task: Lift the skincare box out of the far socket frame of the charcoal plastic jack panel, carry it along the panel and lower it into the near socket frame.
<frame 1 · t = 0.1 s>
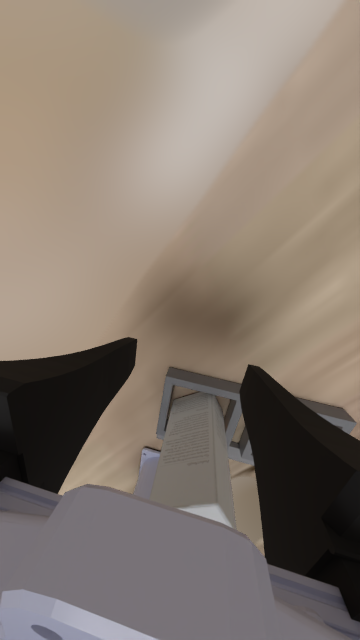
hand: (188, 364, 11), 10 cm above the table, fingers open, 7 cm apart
jack panel: (241, 416, 24), on the table
skincare box: (198, 403, 24), resting in jack panel
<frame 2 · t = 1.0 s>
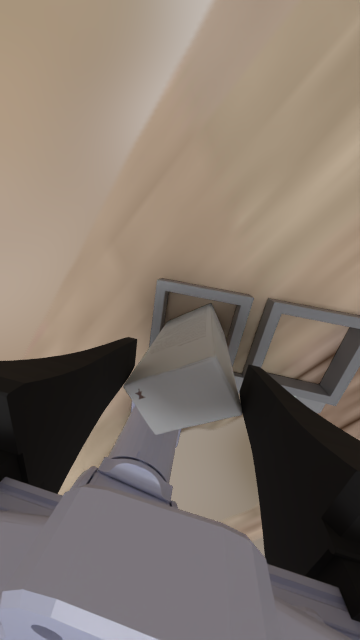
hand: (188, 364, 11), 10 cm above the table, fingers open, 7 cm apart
jack panel: (245, 337, 20), on the table
skincare box: (196, 326, 21), resting in jack panel, touching gripper
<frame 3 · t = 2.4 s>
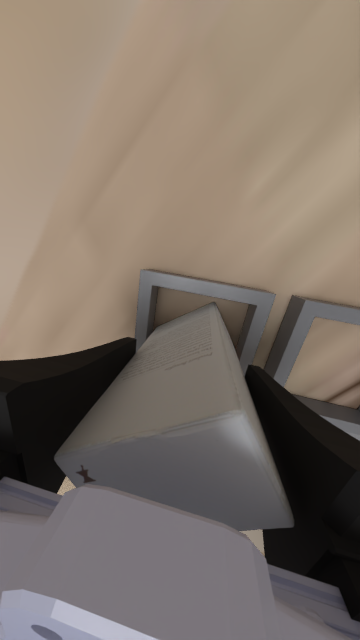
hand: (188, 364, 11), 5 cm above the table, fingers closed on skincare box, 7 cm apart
jack panel: (260, 347, 15), on the table
skincare box: (194, 332, 16), resting in jack panel, touching gripper
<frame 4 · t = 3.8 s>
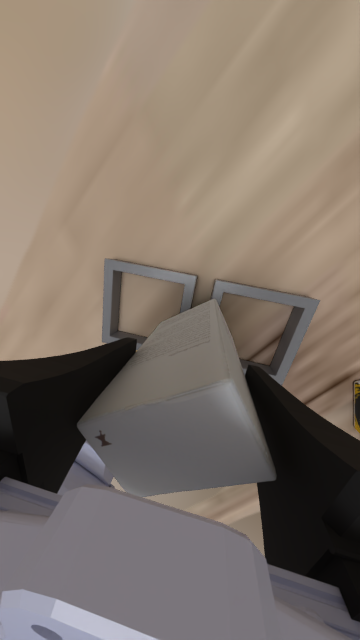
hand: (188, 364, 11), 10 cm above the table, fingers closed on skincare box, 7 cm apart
jack panel: (197, 318, 21), on the table
skincare box: (196, 327, 17), point 4 cm above the table, touching gripper
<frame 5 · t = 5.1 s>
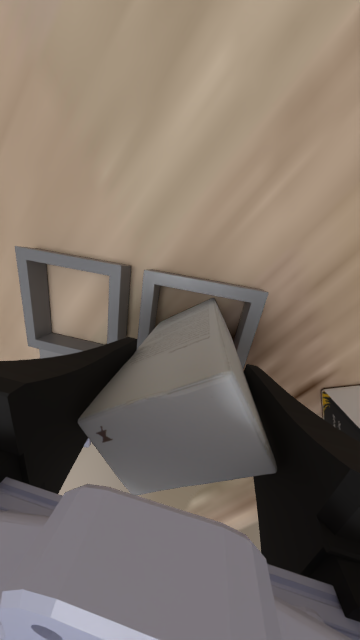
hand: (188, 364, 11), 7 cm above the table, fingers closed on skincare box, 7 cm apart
jack panel: (136, 317, 18), on the table
skincare box: (195, 327, 17), resting in jack panel, touching gripper
when the fingers open (10 cm above the table, at t = 6.6 s): skincare box stays where it is, resting in jack panel.
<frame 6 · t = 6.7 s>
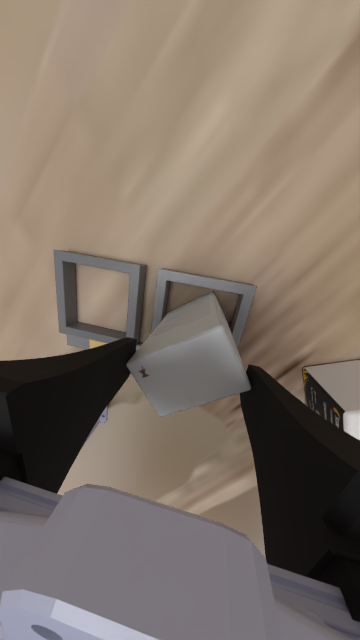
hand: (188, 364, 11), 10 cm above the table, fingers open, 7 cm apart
jack panel: (150, 308, 21), on the table
skincare box: (198, 316, 21), resting in jack panel, touching gripper
medicine bottle: (335, 386, 21), on the table
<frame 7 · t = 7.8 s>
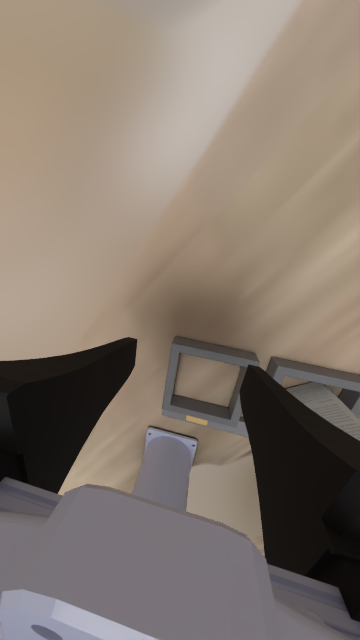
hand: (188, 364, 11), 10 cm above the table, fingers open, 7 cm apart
jack panel: (251, 388, 22), on the table
skincare box: (298, 397, 22), resting in jack panel
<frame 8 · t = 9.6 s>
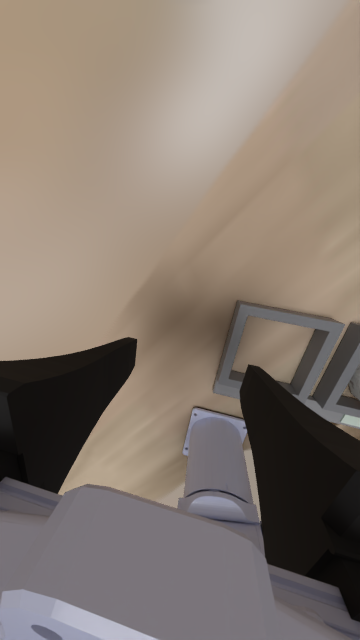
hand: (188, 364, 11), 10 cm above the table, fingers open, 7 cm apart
jack panel: (321, 360, 20), on the table
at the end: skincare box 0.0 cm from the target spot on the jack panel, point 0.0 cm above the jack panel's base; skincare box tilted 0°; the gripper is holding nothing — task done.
